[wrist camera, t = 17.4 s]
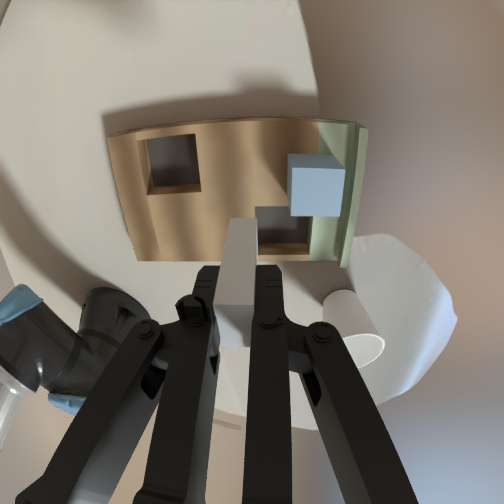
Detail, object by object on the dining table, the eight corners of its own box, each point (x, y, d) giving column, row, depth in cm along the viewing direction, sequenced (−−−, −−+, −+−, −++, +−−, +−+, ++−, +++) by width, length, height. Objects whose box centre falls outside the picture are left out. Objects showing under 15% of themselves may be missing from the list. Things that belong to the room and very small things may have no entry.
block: (286, 195, 31) (290, 216, 27) (287, 153, 28) (292, 167, 24) (329, 196, 30) (339, 216, 26) (333, 155, 27) (345, 169, 23)
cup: (308, 285, 43) (317, 342, 34) (368, 273, 41) (388, 326, 32) (314, 324, 48) (321, 375, 39) (366, 313, 46) (381, 363, 37)
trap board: (144, 249, 39) (133, 267, 36) (117, 132, 29) (100, 141, 25) (339, 247, 38) (347, 267, 34) (355, 121, 28) (368, 128, 24)
